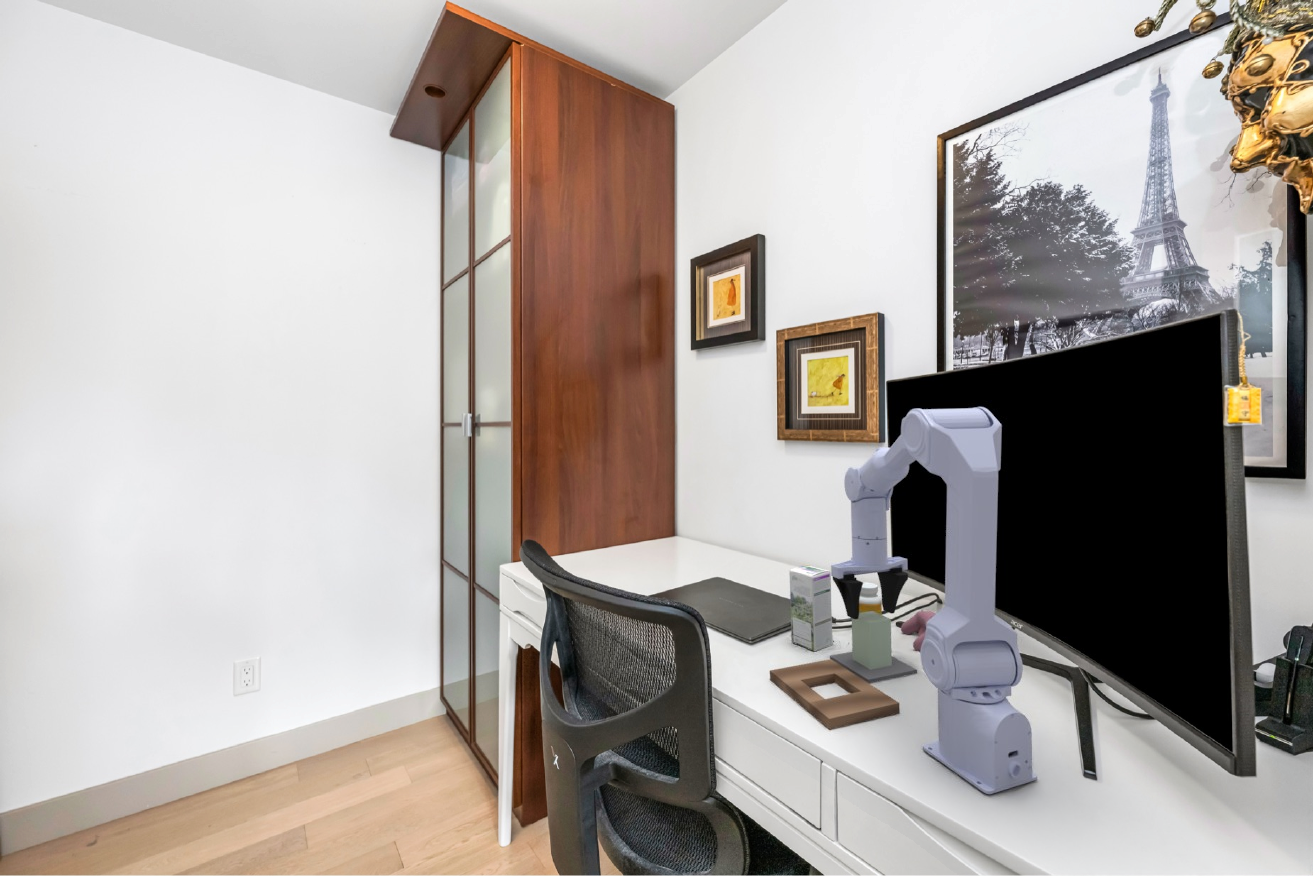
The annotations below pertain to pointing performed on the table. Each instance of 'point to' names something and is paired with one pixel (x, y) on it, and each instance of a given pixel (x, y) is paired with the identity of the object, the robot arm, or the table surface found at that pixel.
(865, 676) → the charcoal mat
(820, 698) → the board
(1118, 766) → the table surface
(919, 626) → the video game controller
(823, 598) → the syrup box
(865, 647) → the sage block
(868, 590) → the supplement bottle
